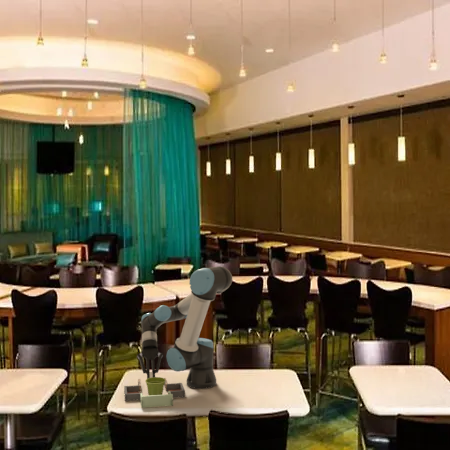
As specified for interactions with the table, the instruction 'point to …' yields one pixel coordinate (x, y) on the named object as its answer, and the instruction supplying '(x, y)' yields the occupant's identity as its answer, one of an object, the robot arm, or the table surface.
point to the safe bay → (156, 400)
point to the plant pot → (155, 385)
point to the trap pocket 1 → (131, 393)
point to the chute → (140, 384)
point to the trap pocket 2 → (176, 390)
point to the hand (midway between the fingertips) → (151, 385)
